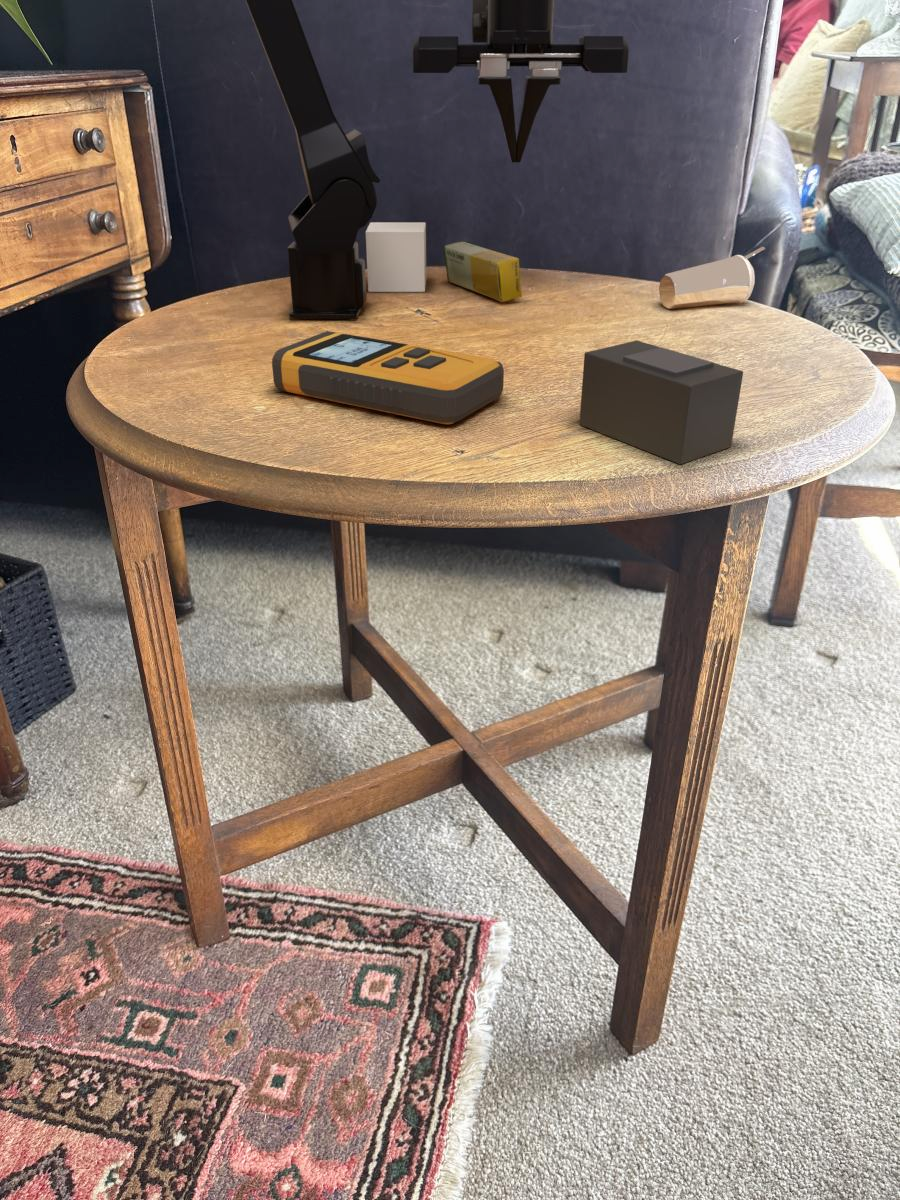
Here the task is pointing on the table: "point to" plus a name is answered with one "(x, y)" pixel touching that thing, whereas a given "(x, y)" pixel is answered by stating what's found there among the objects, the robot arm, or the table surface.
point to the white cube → (396, 256)
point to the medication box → (483, 271)
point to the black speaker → (660, 400)
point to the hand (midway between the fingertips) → (515, 162)
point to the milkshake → (709, 283)
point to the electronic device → (388, 376)
